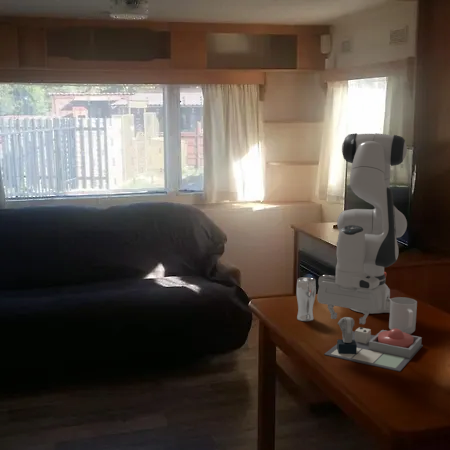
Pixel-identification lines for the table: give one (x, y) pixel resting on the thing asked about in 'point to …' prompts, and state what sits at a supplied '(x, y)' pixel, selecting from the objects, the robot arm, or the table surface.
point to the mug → (403, 314)
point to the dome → (395, 338)
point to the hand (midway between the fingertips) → (347, 321)
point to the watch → (346, 337)
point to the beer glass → (305, 298)
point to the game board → (378, 351)
